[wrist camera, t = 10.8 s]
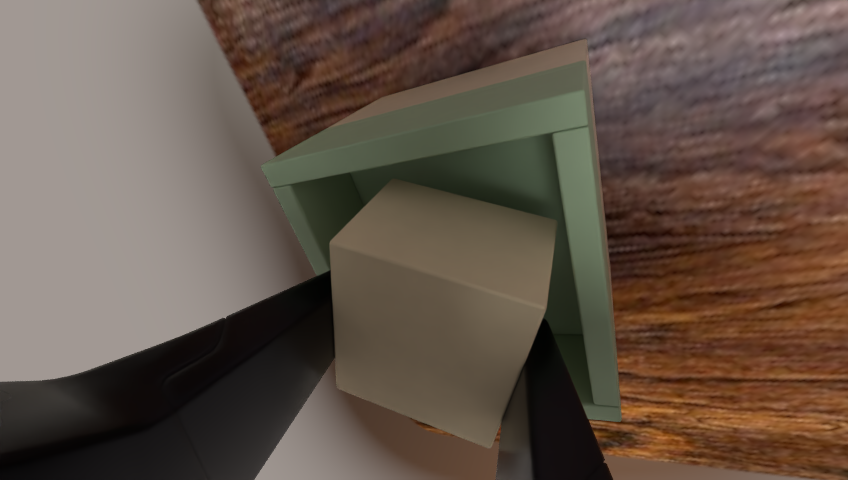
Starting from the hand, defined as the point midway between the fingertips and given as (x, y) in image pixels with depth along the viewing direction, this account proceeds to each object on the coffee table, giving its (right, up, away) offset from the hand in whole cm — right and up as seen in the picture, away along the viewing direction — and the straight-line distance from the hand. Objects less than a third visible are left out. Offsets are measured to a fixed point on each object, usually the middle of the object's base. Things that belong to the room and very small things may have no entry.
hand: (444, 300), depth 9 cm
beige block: (0, +1, +1) cm, 1 cm away
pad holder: (+2, +4, +6) cm, 7 cm away
